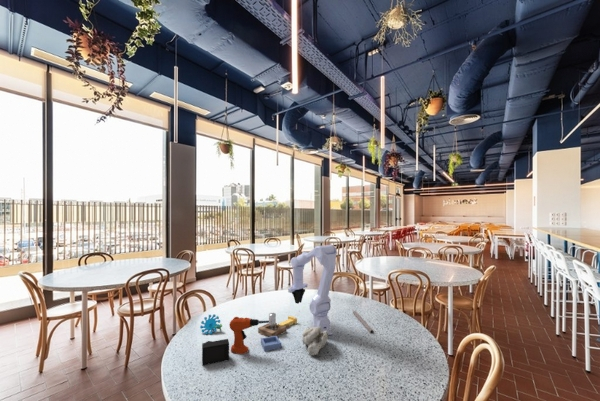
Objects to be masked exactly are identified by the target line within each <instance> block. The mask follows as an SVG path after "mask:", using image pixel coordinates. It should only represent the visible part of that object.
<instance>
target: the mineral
mask: <svg viewBox="0 0 600 401" xmlns="http://www.w3.org/2000/svg"><path fill="white" fill-rule="evenodd" d="M328 334H329V333H328V331H323V332H322V331H321V328H320V327H313V326H311V328H309V327H306V328H305V329H304V331H303V332H302V340H301V341H302V344H303V345H305V346H308V347H307V352H308V353H309V355H311V356H316V355H317V356H318V355H319V351H320V350H321V349H322V348H325V346H326V343H327V341H328V338H329V335H328Z"/></svg>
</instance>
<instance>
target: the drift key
mask: <svg viewBox="0 0 600 401" xmlns="http://www.w3.org/2000/svg"><path fill="white" fill-rule="evenodd" d="M288 324H289V327H290V326H292V325H293V324H294V325H296V324H298V318H297V317H295V316H291V315H288V317H287V319H285V320H284V321H281V322H279V323H277V325H278V327H279V326H281V325H283V326H286V325H288Z"/></svg>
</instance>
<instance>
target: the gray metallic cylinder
mask: <svg viewBox="0 0 600 401" xmlns="http://www.w3.org/2000/svg"><path fill="white" fill-rule="evenodd" d="M276 316H277V315H276V313H275V312H270V313H268V321H269V329H270V330H274V329H276V323H277V321H276V318H277V317H276Z"/></svg>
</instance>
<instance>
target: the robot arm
mask: <svg viewBox="0 0 600 401" xmlns="http://www.w3.org/2000/svg"><path fill="white" fill-rule="evenodd" d="M337 255H338V251H337V248H336V247H335V245H333V244H326V245H325V244H324V245H316V246H314V248H313V249H311V250H310V251H307V252H306V251H303V252H301V254H298V255H297V256H296V257H295V256H294V257H292V258H291V259H290V266H291V267H292V285H291V287H289V288H288V291H287V292H288V293H290V294H292V296H293V299H294V303H295V304H298V305H299V303H302V301H303V298H304V297H303V296H304V294H305V292H306V288H308V283H304V269H305V266H306V264H309V263H310V262H311V261H312V259H313V258H315V257H316V259H317V261H318V263H320V265H321V266H323V267H322V272H321V276H320V280H319V285H318V289H317V293H316V295H315V296H314V297H313V298H312V300H311V301H310V303H309V310H310V313H311V315H312V317H313V318H312V321H313V322H312V323H313V324H312V325H313V326H312V327H320V328H321V331H322V332H323V331H328V333H329V334H328V336H330V335H331V336H332V335H333V332H331V320H330V319H329V317H328V314H329V311H330V310H331V302H332V299H331V298H330V296H329V294H330V290H331V285H332V281H333V277H334V275H335V274H334V273H335V269H336V258H337Z"/></svg>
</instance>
